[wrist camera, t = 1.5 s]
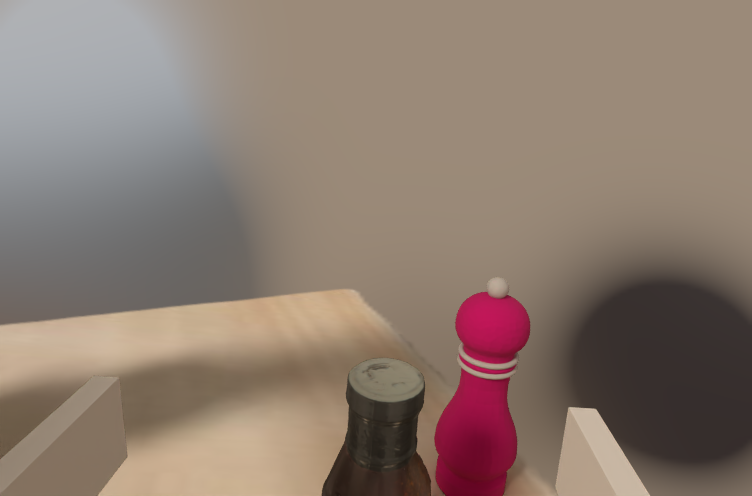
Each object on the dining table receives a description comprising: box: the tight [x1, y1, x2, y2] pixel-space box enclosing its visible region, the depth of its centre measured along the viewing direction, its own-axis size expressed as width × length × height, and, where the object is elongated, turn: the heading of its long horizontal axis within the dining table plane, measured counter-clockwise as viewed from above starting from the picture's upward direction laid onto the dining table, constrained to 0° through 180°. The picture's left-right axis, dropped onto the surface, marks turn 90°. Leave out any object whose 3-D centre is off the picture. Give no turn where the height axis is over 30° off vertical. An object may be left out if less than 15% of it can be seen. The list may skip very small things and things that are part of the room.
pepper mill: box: [434, 277, 530, 496], centre depth 45 cm, size 7×7×20 cm
